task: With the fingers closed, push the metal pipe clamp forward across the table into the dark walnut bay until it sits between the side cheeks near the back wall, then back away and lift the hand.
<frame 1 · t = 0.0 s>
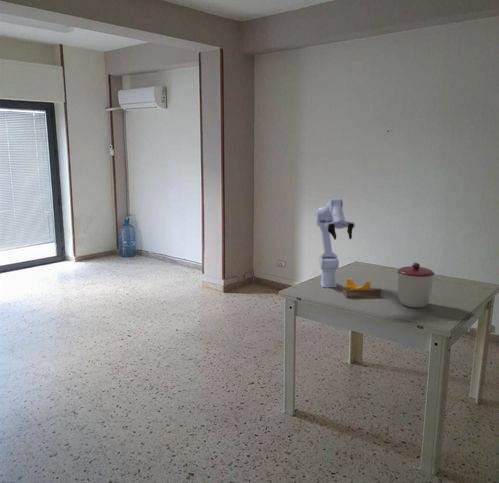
hand: (343, 238, 237), 32 cm above the table, tool tilted 50°, fingers open, 7 cm apart
bay: (361, 295, 253), on the table
canister: (413, 305, 237), on the table
pipe clamp: (357, 292, 259), on the table
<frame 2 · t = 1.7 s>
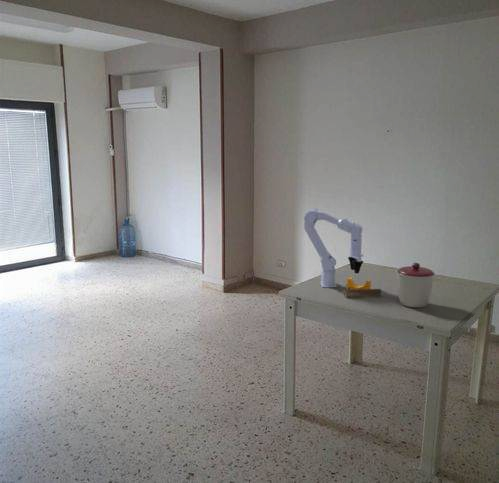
hand: (354, 271, 263), 9 cm above the table, tool pointing down, fingers open, 6 cm apart
nothing on the table moved.
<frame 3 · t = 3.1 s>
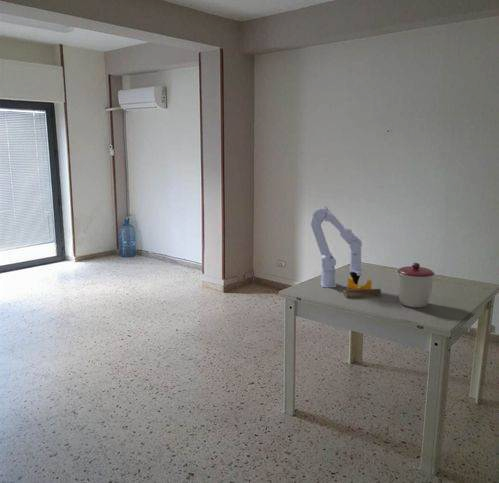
hand: (355, 285, 265), 2 cm above the table, tool pointing down, fingers closed
pipe clamp: (359, 291, 260), on the table, touching gripper
everything else where it was.
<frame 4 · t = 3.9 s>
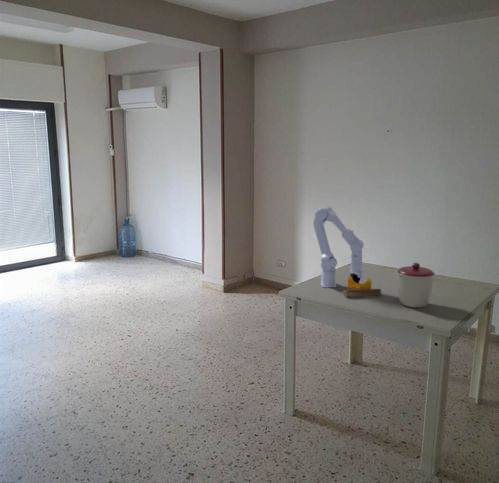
hand: (355, 286, 263), 1 cm above the table, tool pointing down, fingers closed
pipe clamp: (359, 290, 260), point 1 cm above the table, touching gripper
everything else where it was.
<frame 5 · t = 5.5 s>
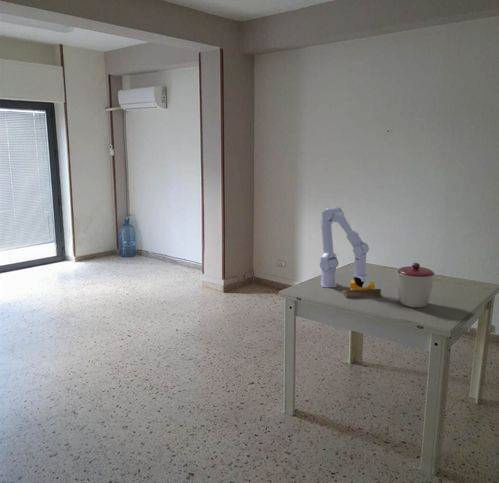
hand: (358, 290, 256), 1 cm above the table, tool pointing down, fingers closed, pressing on pipe clamp
pipe clamp: (362, 293, 253), on the table, touching bay, gripper
everything else where it was.
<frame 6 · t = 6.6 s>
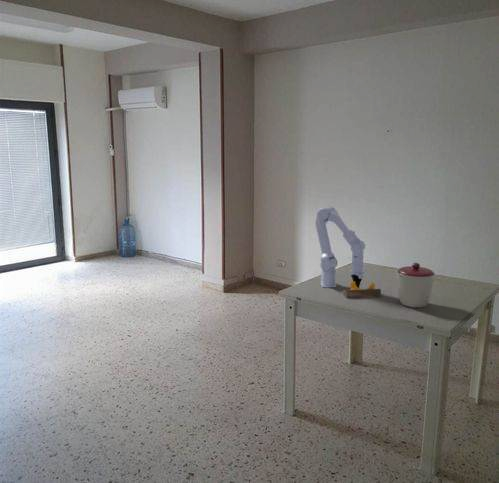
hand: (356, 288, 261), 1 cm above the table, tool pointing down, fingers closed
pipe clamp: (362, 295, 254), on the table
everything else where it was.
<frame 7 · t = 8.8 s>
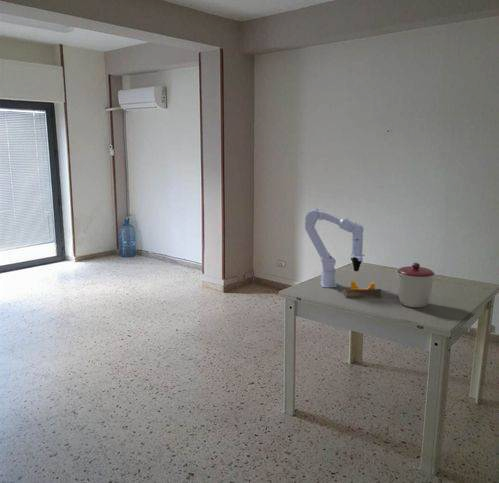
hand: (356, 270, 264), 9 cm above the table, tool pointing down, fingers closed
at the end: pipe clamp 1.9 cm off-centre on the bay, point 0.0 cm above the bay's base; pipe clamp moved 4.8 cm from its start; the gripper is holding nothing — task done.
